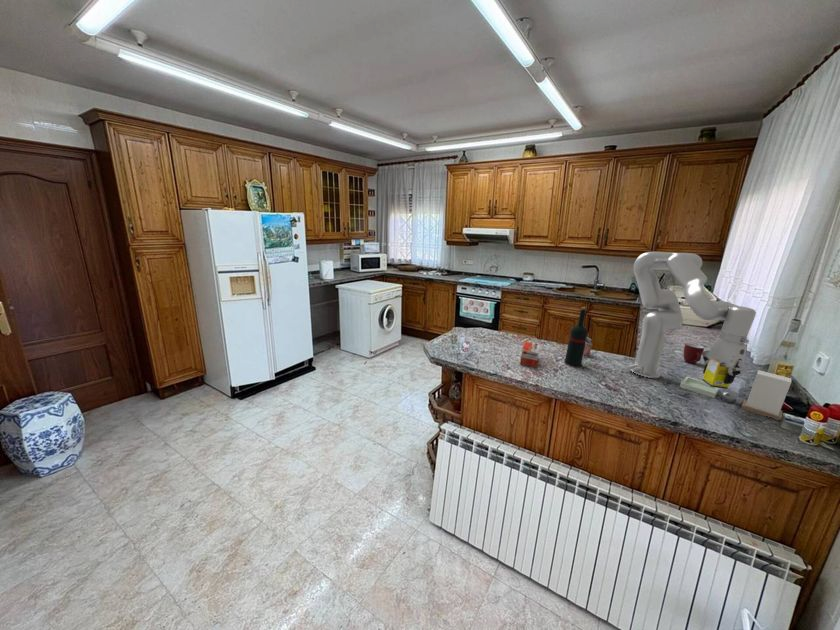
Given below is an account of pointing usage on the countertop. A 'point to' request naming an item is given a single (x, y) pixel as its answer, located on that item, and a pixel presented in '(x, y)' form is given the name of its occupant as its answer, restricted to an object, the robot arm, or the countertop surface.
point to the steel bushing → (728, 396)
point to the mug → (692, 353)
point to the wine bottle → (577, 342)
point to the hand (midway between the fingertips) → (716, 378)
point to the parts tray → (699, 387)
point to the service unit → (767, 395)
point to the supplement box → (716, 374)
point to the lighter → (587, 347)
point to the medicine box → (530, 354)
